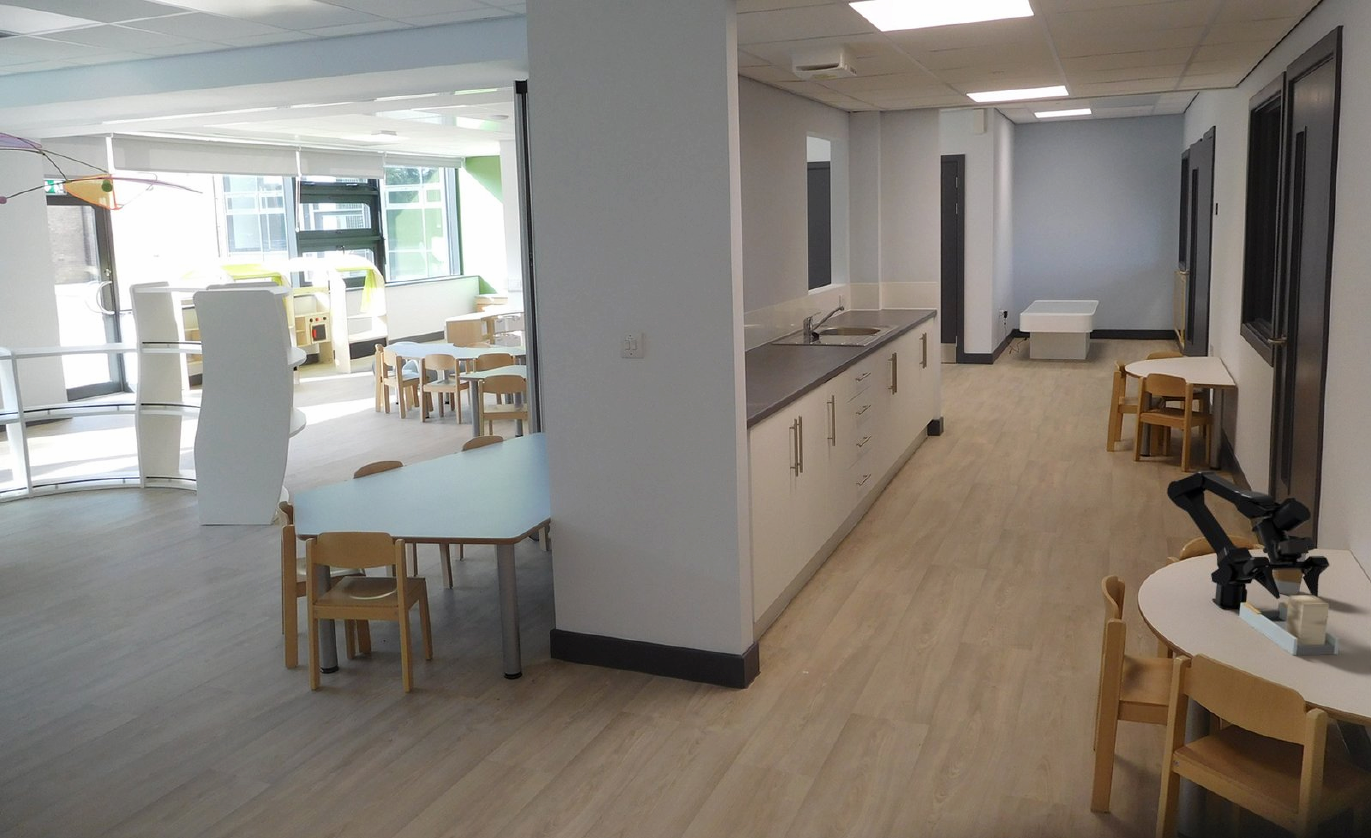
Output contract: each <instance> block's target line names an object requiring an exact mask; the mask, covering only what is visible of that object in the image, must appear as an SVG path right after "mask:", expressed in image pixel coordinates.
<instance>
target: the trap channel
mask: <svg viewBox="0 0 1371 838" xmlns="http://www.w3.org/2000/svg"><path fill="white" fill-rule="evenodd" d="M1287 610H1288V603H1286V602H1284V601H1281V602H1278V606H1277V609H1257V608H1255V607H1253V606H1252V605H1250V603H1247V602H1246V603H1241V605H1240V609H1239V616H1238V618H1239V619H1241V620H1242V621H1243V622H1244V623H1246V624H1248V625H1249V626H1250V627H1252V628H1253V629H1255V630H1256V631H1257V632H1259V633H1260V634H1262V636H1265V638H1267V639H1269V640H1270V641H1272V642H1273V643H1275V644H1276V645H1278V646H1279V647H1280V648H1282V649H1284V650H1285V651H1286V652H1288V653H1289V654H1291V655H1292V656H1325V655H1324V654H1337V655H1338V654H1339V653H1338V651H1339V645H1340V643H1339V642H1340V638H1339V637H1338V636H1336V635H1335V634H1333V633H1331V632H1330V631H1328V630H1326V635H1325V643H1324V645H1299V644H1297V642H1298V639H1297V638H1296V637H1294V636H1293V635H1291V634H1290V633H1288V632H1287V631H1285V629H1286V620H1287Z"/></svg>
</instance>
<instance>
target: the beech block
mask: <svg viewBox="0 0 1371 838" xmlns="http://www.w3.org/2000/svg"><path fill="white" fill-rule="evenodd" d="M1287 601H1288V602H1287V604H1288V610H1287V620H1286V629H1285V631H1287V632H1288V633H1290V634H1291V635H1293V636H1294V637H1296V638H1297V639H1298V642H1297V644H1299V645H1324V643H1325V635H1326V631H1327V624H1328V615H1329V607H1330V603H1328V602H1326V601H1324V600H1323V599H1321V598H1320V597H1319V596H1318V597H1316V596H1314V595H1311V594H1307V595H1305V594H1303V595H1300V594H1299V595H1298V594H1296V595H1288V600H1287Z"/></svg>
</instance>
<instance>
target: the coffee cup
mask: <svg viewBox="0 0 1371 838" xmlns="http://www.w3.org/2000/svg"><path fill="white" fill-rule="evenodd" d="M1287 535H1288V538H1289V539H1293V540H1300V539H1301V538H1303V537H1302V536H1299V535H1293V534H1287ZM1301 555H1302V557H1301V558H1300V559H1297V562H1300V561H1305V560H1306V559H1307V558H1306V557H1307V554H1306V553H1304V554H1301ZM1303 576H1304V574H1303V573H1302V572H1301V569H1300V570H1273V578H1274V580H1275V583H1276V585H1277V588H1278V591H1279V594H1281V593H1283V594H1282V595H1286V594H1288V595H1287V596H1289V595H1298V594H1299V592H1300V590H1301V584H1302V583H1303V582H1302V581H1303Z"/></svg>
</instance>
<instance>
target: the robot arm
mask: <svg viewBox="0 0 1371 838" xmlns="http://www.w3.org/2000/svg"><path fill="white" fill-rule="evenodd" d="M1207 491H1208V492H1210V493H1213V494H1214V495H1216V496H1217V497H1220V498H1222V499H1223V500H1225V501H1227V502H1229V503H1231V504H1233V505H1234V506H1235V508H1236V510H1237V511H1238V512H1239V513H1240V514H1241V515H1243V516H1244V517H1246V519H1249V520H1255V519H1262V520H1260V521H1255V522H1254V525H1253V526H1252V528H1251V532H1252V533H1259V535H1260V537H1261V540H1262V544H1263V546H1264V547H1263V548H1262V552H1263V554H1267V556H1268V557H1267V556H1253V555H1252V554H1251V552H1250V549H1248V548H1247V547H1246V546H1245V547H1238V546H1236V545H1235V544H1234V543H1233V542H1232V540H1231V539H1230V537H1229V536H1228V535H1227V533H1226V532H1225V531H1226V530H1224V529H1223V527H1222V526H1221V524H1220V523H1219V522H1218V520H1217V518H1216V517H1215V516H1214V514H1213V513H1212V511H1211V510H1210V509H1209V508H1208V506H1207V504H1206V503H1205V502H1206V501H1205V495H1206V494H1205V492H1207ZM1166 494H1167V496H1168V498H1169V500H1170V501H1171V503H1173V504H1174V505H1175V506H1176V507H1177V508H1179V509H1181V510H1183V511H1184V512H1186V513H1187V514H1188V516H1189V517H1190V518H1191V519H1192V521H1193V522H1194V524H1195V525H1196V527H1197V528H1198V529H1199V531H1200V532H1201V534H1202V535H1203V537H1204V539H1206V541H1207V543H1208V544H1209V546H1210V548H1212V550H1213V552H1214V553H1215V555H1216V565H1217V567H1218V568H1217V569H1216V570H1214V571H1213V572H1211V573H1210V576H1211V582H1212V583H1215V584H1216V587H1215V597H1214V598H1212V599H1211V601H1212V602H1213V603H1214V604H1216V605H1217V606H1218V607H1219V608H1221V609H1223V610H1224V609H1225V610H1240V605H1241V603H1247V599H1248V589H1247V584H1248V585H1249V584H1252V582H1253V580H1255V581H1256V582H1257V583H1259V585H1261V586H1262V587H1263V588H1265V590H1267V591H1268V592H1269V593H1270V594H1271V595H1272V596H1273V597H1274V598H1275V599H1276V600H1279V599H1281V593H1279V591H1278V588H1277V585H1276V583H1275V580H1274V578H1273V570H1300V569H1301V572H1302V573H1303V576H1302V580H1303V582H1304V583H1305V585H1306V587H1307V588H1308V591H1309V592H1310V595H1314V596H1316V597H1318V598H1319V580H1320V579H1319V578H1320V575H1321V574H1322V573H1323V572H1324V571H1325V570H1327V568H1328V567H1330V565H1331V564H1330V562H1329V560H1328V558H1327V557H1326V556H1324V555H1309V556H1308V557H1307V558H1305V561H1300V562H1297V559H1300V558H1301V557H1302V555H1301V554H1304V553H1306V555H1307V554H1309V552H1310V551H1314V549H1315V542H1314V540H1313V538H1312V537H1311V536H1305V537H1304V536H1303V537H1302V538H1301V539H1300V540H1293V539H1289V538H1288V535H1289V534H1288V532H1290V533H1291V532H1293V531H1295V530H1297V529H1298V528H1299V527H1300V526H1303V524H1305V523H1306V522H1308V521H1309V520H1310V519H1311V511H1310V509H1309V507H1307V506H1306V505H1305V504H1303V503H1302V502H1301V501H1298V500H1296V497H1294V496H1293V497H1287V498H1285V499H1284V501H1283V502H1281V503H1280V502H1279V501H1276V500H1275V498H1274V497H1273V495H1270V494H1266V493H1263V492H1259V491H1252V490H1248V489H1246V488H1243V487H1241V486H1240V485H1237V484H1236V483H1233V482H1231V481H1230V480H1228V479H1225V478H1223V477H1221V476H1220V475H1218V474H1216V473H1215V472H1214V471H1211V470H1203V471H1197V472H1195V473H1193V474H1191V475H1189V476H1186V477H1184V478H1181V479H1179V480H1172V481H1171V482H1169V484H1168V486H1167V490H1166ZM1263 518H1264V519H1263Z"/></svg>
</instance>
